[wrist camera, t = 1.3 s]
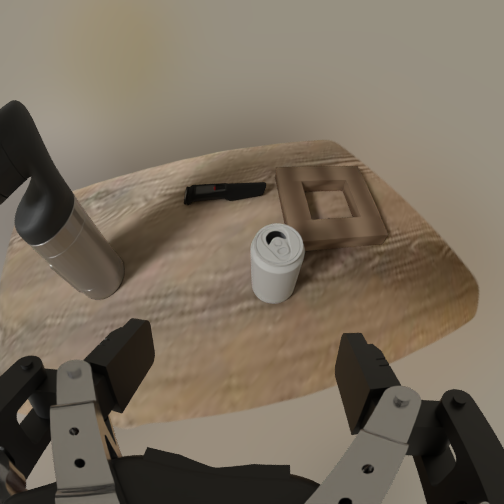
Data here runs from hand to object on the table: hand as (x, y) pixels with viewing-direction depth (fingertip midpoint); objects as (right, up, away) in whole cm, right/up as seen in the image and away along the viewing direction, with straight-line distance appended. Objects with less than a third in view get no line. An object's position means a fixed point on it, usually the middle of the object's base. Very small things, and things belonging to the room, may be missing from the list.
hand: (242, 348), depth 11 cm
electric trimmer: (-5, +14, +41) cm, 43 cm away
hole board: (+14, +12, +38) cm, 42 cm away
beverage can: (+4, -1, +31) cm, 31 cm away
